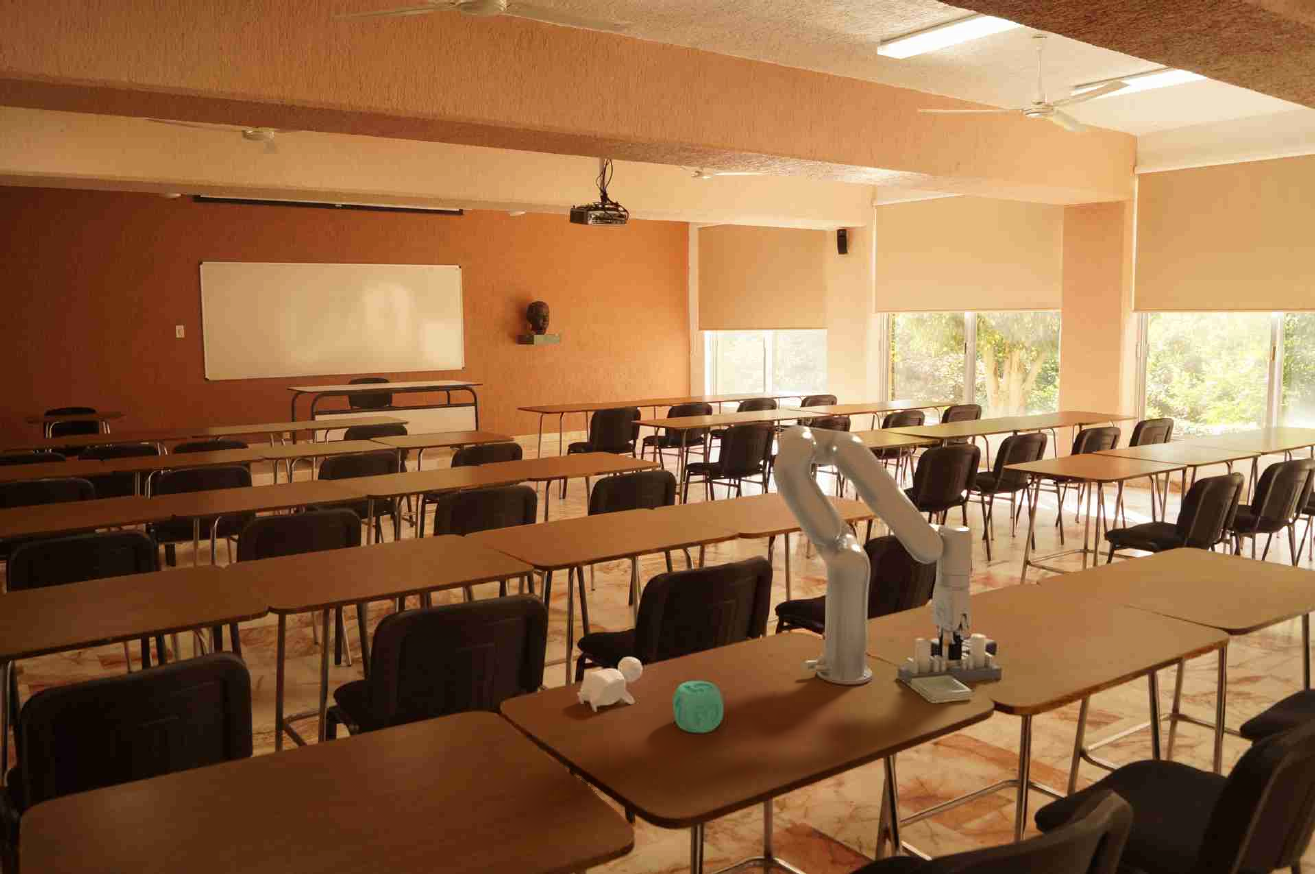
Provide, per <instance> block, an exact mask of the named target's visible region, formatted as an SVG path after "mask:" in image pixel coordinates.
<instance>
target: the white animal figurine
mask: <svg viewBox="0 0 1315 874" xmlns="http://www.w3.org/2000/svg"><path fill="white" fill-rule="evenodd" d="M642 675H643V666H642V662H641V661H640V660H639V658H638V659H637V658H636V657H633V656H626V657H622V659H621V660H620V661H619V662H618V665H617V669H616V668H604V669H599V670H597V671H592V672H590V673H588V674H587V675H586V676H585V677H584V679H583V681H582V684H581V686H580V689H579V692H578V691H577V692H576V694H577V696H578V700H579V702H580V704H581V705H584V704H585V703H584V702H585V701H586V702H589V703H590V706H591V708H592V711H594V712H595V713H596V712H598V710H597V707H601V706H609V705H613V704H614V703H616V702H617V701H618V700H622V701H624V702H625V703H627V704H630V705H634V703H635V702H636V701H635V699H634V698H633V696H632V695H631V694H630V693H629V692H628V690H627V688H626V687H627V683H634V682H635V681H636V680H638V679H639V678H640V677H641V676H642Z"/></svg>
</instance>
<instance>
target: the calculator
mask: <svg viewBox="0 0 1315 874" xmlns="http://www.w3.org/2000/svg"><path fill="white" fill-rule="evenodd" d="M971 634H972V633H969V637H968V638H966V639H965V640H964V643H963V644H962V653H966V654H968V655H969V656H970V637H971ZM930 640H931V656H932V657H933V658H934V656H936V655H938V656H940V657H941V658H942V655H940V654H939V653H938V650H939V636H937V637H935V638H931V639H930ZM985 652H987V653H989V654H994V653H996V654H997V642H995V640H993V639H991V638H987V637H986V648H985ZM994 655H995V654H994Z"/></svg>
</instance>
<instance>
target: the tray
mask: <svg viewBox="0 0 1315 874" xmlns="http://www.w3.org/2000/svg"><path fill="white" fill-rule="evenodd" d="M911 687H913V688H915V690H917V691H918V692H919V693H921V694H922V695H924V697H926V698H927V699H929V700H930V701H931V702H936V701H944V700H951V699H966V698H971V699H972V692H973V691H972V690H971V689H970V688H969V687H967V686H966V685H964V684H962V682H958V681H957V680H955V679H954V678H952V677H951V676H949V675H946V676H935V677H924V678H913V679H911ZM911 687H910V688H911ZM936 688H937V689H936ZM938 688H939V689H938ZM924 697H923V698H924Z"/></svg>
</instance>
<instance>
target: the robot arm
mask: <svg viewBox="0 0 1315 874" xmlns="http://www.w3.org/2000/svg"><path fill="white" fill-rule="evenodd" d="M777 444H778V445H777V446H778V451H777V453H776V455H775V458H774V463H773V479H774V483H775V486H776V487H775V488H776V490H778V492H779V495H780V496H781V498H782V499H783V501H784V503H785V504H786V506H787V508H788V509H789V511H790V512H791V514H792V516H794V518H795V519H796V522H797V523H798V525H799V527H800V529H801V531H802V533H803V535H804V536H805V537H806V538H807V539H808V540H809V542H810V543H811V544H812V546H813V547H814V549H815V550H816V552H817V553H818V554H819V557H820V558H821V559H822V561H823V562H824V563H825V567H826V589H825V606H824V607H825V609H824V610H825V615H824V616H825V620H824V621H825V622H824V623H825V624H824V625H825V626H824V653H822V654H821V653H820V657H819V658H817V659H816V660H813V659H812V660H811V659H809V660H808V659H807V660H804V662H803V663H804V669H805V670H809V669H810V670H812V669H813V670H814V672H816V673H817V675H818V676H819V678H821V679H822V680H824V681H827V682H829V683H833V684H837V685H838V684H839V685H848V686H849V685H851V686H852V685H862V684H865V682H866V683H867V682H870V681H871V680H872V679H873V671H872V669H871V668H870V667H868V666H867V640H868V639H867V638H868V637H867V636H868V603H869V601H868V600H869V585H870V578H871V562H870V558H869V556H868V554H867V552H866V550H865V548H864V547H863V546H862V545H861V543H860V542H859V540H858V539H857V537H856V535H855V533H853V531H852V530H851V528H850V527H849V526H848V525H849V524H847V522H846V520H845V519H844V518H843V517H842V515H841V513H840V511H839V510H838V509H837V507H836V506H835V504H834V503H833V502H832V501H831V500H829V499H828V497H827V496H826V495H825V494H824V491H823V490H822V489H821V487H820V485H819V483H818V482H817V480H816V479H815V478H814V476H813V473H812V466H813V465H812V464H816V465H817V464H819V465H827V466H834V467H835V469H836V470H837V471H838V472H839V473H840V474H841V476H842V477H843V478H844V479H845V480H846V482H848V484H849V485H850V486H851V488H852V489H853V490H854V491H855V492H856V494H857V495H858V496H859V497H860V499H861V500H862V501H863V502H864V503H865V505H866V506H867V507H868V508H869V510H871V512H872V513H873V514H874V515H875V516H876V517H878V519H879V520H881V521H882V522H883V523H884V525H886V527H887V528H888V529H889V530H890V531H891V532H892V534H893V535H894V536H895V537H896V539H898V541H899V542H900V543H901V545H903V547H904V548H905V550H906V551H907V552H908V553H909V554H910V556H911V557H912V558H913V559H914V560H915V561H917V562H919V563H922V564H932V563H934V562H936V572H935V575H936V576H935V583H934V586H933V591H932V592H933V593H932V599H931V606H930V607H931V609H930V610H931V611H930V620H931V621H932V622H933V623H934V624H935V625H936V627H937V635H938V636H937V637H939V650H938V653H939V654H940V655H942V648H943V629H945V630H947V631H948V632H950V643H948V660H950V661H953V660H961V659H962V644H963V643H964V640H965V639H966V638H968V637H969V634H970V633H969V630H970V627H971V614H972V613H971V609H972V607H971V593H970V588H971V573H972V551H973V550H972V549H973V531H972V529H971V528H970V527H968V526H965V525H961V524H945V525H941V524H934V523H929V522H928V520H927V519H926V517H925V516H924V515H923V514H922V513H921V512H920V511H919V509H918V508H917V507H916V506H915V504H914V503H913V502H912V501H911V499H910V497H908V495H907V494H906V493H905V490H903V488H902V487H901V486H900V484H899V483H898V482H897V480H896V479H895V478H894V476H892V474H891V473H890V472H889V471H888V470H887V469H886V467H885V466H884V465H883V464H882V462H881V461H880V460H879V459H878V457H877V456H876V455H875V454H874V452H873V451H872V450H871V449H870V448H869V447H868V445H867V444H866V443H865V442H864V441H863V440H862V439H861V438H860V437H859V436H857V435H856V434H854V433H852V432H848V431H843V430H841V431H840V430H833V429H826V428H819V427H812V426H805V425H792V426H789V427H787V428H785V429H784V430H783V431H782V433H780V436H779V438H778V442H777ZM958 628H959V629H958ZM955 633H959V635H956V636H955Z"/></svg>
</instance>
